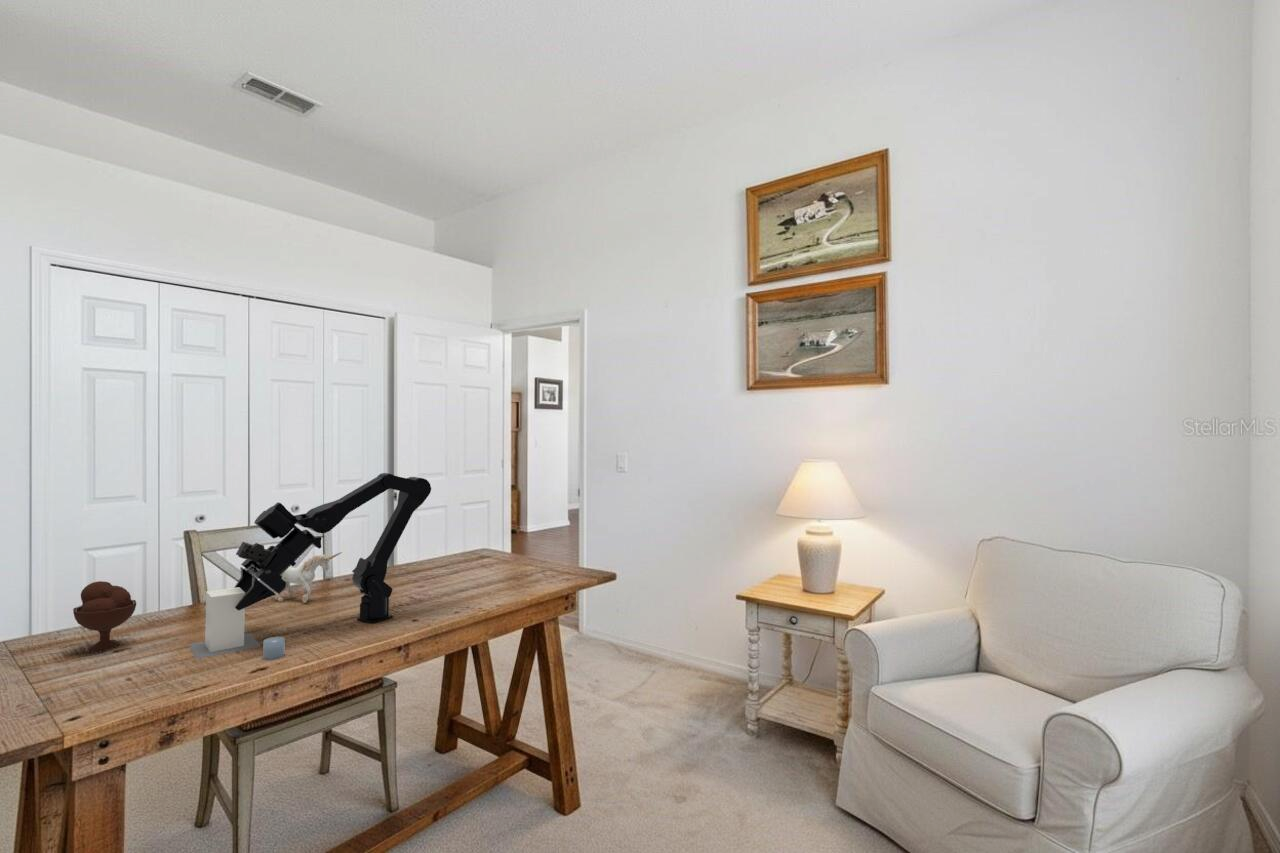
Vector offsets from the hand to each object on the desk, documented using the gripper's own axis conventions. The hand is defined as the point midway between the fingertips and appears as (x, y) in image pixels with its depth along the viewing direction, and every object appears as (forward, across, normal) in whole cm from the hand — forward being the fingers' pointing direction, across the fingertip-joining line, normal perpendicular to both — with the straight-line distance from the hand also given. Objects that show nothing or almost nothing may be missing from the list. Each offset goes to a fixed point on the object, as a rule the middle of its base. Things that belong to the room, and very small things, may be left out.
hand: (232, 604), depth 142 cm
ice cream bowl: (+22, -16, -8) cm, 28 cm away
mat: (+8, 0, +6) cm, 9 cm away
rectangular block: (+7, 0, +5) cm, 9 cm away
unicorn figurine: (-10, -32, +24) cm, 41 cm away
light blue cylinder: (+3, +15, +10) cm, 18 cm away
